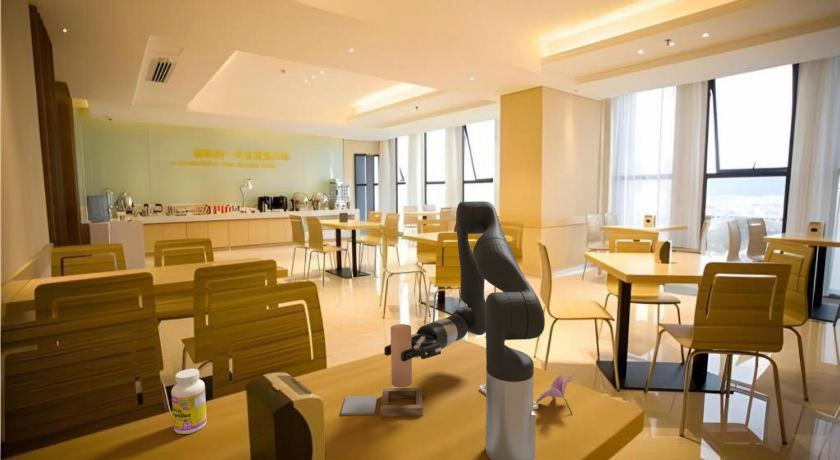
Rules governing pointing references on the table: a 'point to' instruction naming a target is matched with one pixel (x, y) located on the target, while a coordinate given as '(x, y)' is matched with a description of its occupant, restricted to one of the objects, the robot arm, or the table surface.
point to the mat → (359, 405)
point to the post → (400, 343)
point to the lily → (557, 389)
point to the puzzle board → (401, 409)
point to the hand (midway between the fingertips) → (393, 354)
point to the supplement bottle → (188, 402)
